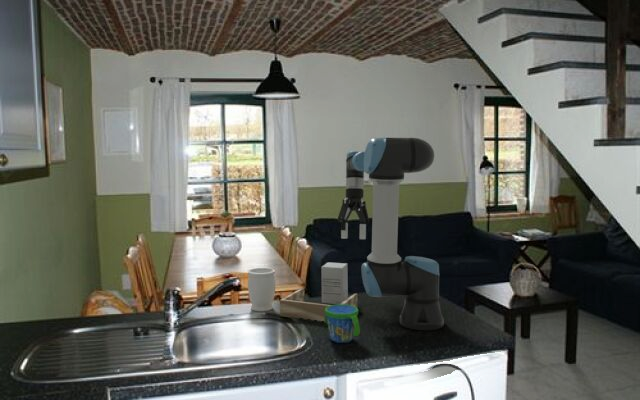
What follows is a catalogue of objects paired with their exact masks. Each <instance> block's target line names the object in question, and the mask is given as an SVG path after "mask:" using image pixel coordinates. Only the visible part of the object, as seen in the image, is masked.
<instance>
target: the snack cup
mask: <svg viewBox="0 0 640 400" xmlns="http://www.w3.org/2000/svg"><path fill="white" fill-rule="evenodd" d="M330 305H331V306H328V307H326V309H325V318H324V321H325V322H324V323H325V324H326V325H327V327H328V335H329V340H330V341H332V342H335V343H337V344H346V343H347V344H348V343H350V342H352V341H353V340H354V337H357V336H359V335H360V333H361V328H360V323H359V322H360V321H359V319H358V315H359V309H358V307H357V308H356V307H355V306H351V305H345V304H330Z"/></svg>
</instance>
